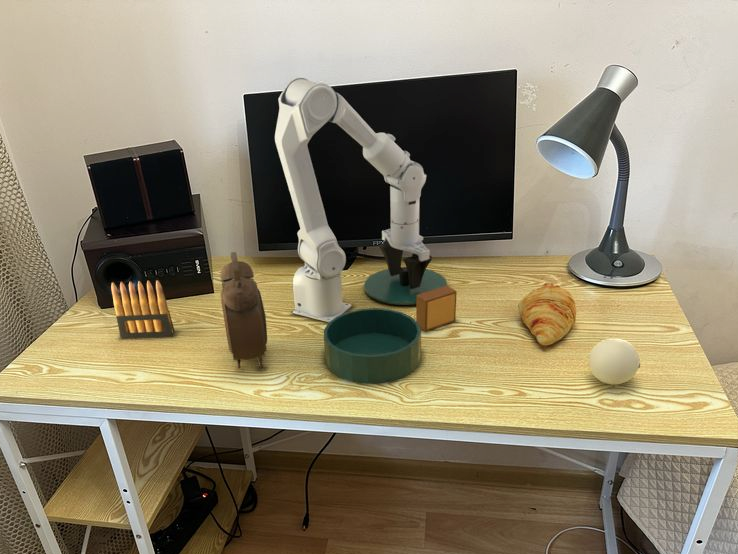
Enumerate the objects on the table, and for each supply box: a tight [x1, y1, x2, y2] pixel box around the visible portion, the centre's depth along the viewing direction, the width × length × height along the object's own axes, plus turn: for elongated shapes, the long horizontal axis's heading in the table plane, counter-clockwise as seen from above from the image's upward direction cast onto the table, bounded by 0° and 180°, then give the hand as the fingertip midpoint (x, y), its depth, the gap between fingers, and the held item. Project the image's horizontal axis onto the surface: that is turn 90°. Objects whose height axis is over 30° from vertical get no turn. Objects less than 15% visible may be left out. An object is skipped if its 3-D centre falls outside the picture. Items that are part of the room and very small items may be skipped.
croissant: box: [517, 282, 577, 346], centre depth 118 cm, size 21×10×8 cm, turn 162°
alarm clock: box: [219, 251, 268, 370], centre depth 112 cm, size 14×7×20 cm, turn 9°
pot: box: [323, 307, 422, 384], centre depth 113 cm, size 17×17×5 cm
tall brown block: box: [415, 285, 458, 332], centre depth 121 cm, size 3×7×6 cm, turn 116°
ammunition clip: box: [110, 279, 176, 340], centre depth 124 cm, size 11×2×12 cm, turn 86°
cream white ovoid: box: [588, 337, 641, 386], centre depth 102 cm, size 10×7×7 cm
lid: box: [363, 266, 448, 306], centre depth 135 cm, size 17×17×4 cm
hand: (404, 280), depth 135 cm, fingers open, 7 cm apart
